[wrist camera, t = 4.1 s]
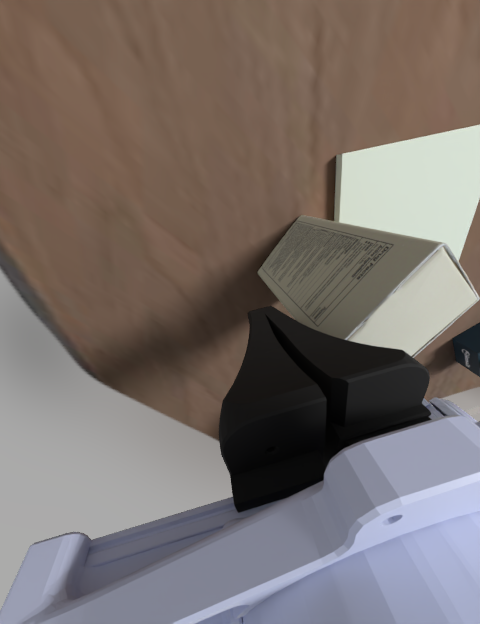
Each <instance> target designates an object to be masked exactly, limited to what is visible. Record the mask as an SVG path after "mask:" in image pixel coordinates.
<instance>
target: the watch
mask: <svg viewBox="0 0 480 624" xmlns="http://www.w3.org/2000/svg"><path fill="white" fill-rule="evenodd" d="M452 339H453V345H454V351H455V356H456V361H457V362H458V363H460V364H461V365H463V366H464V367H466V368H467V369H469V370H470V371H472V372H473V373H475V374H476V375H478V376H479V377H480V323H478V324H476V325H475V326H473V327H471V328H470V329H468V330H466V331H464V332H463V333H461V334H459V335H458V336H456V337H454V338H452Z"/></svg>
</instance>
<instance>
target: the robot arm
mask: <svg viewBox="0 0 480 624" xmlns="http://www.w3.org/2000/svg"><path fill="white" fill-rule="evenodd" d="M248 318H249V323H250V332H249V340H248V346H247V350H246V354H245V357H244V360H243V363H242V366H241V368H240V371H239V373H238V375H237V377H236V379H235V381H234V383H233V385H232V387H231V388H230V390H229V392H228V393H227V395H226V397H225V398H224V400H223V403H222V409H221V415H220V423H219V440H220V449H221V454H222V457H223V459H224V462H225V464H226V466H227V469H228V470H229V473H230V476H231V485H232V493H233V497H231V498H227V499H224V500H221V501H217V502H214V503H211V504H208V505H204V506H201V507H198V508H195V509H192V510H188V511H185V512H181V513H178V514H175V515H172V516H168V517H165V518H162V519H159V520H155V521H152V522H149V523H145V524H142V525H139V526H136V527H132V528H129V529H126V530H123V531H119V532H116V533H113V534H109V535H106V536H103V537H100V538H96V539H93V540H91V539H90V538H89V537H88V536H87V535H85V534H84V533H80V532H71V533H66V534H63V535H59V536H56V537H53V538H49V539H46V540H43V541H39V542H36V543H34V544H32V545H31V546H30V547H29V549H28V551H27V554H26V556H25V558H24V560H23V562H22V565H21V567H20V569H19V571H18V574H17V576H16V578H15V580H14V582H13V584H12V586H11V589H10V591H9V593H8V595H7V597H6V600H5V602H4V604H3V606H2V609H1V611H0V624H480V421H479V422H477V421H476V420H475V419H474V418H472V417H471V416H470V415H469V414H467V413H466V412H465V411H464V410H462V409H461V408H460V407H458V406H457V405H456V404H454V403H453V402H451V401H449V400H444V399H439V398H436V397H434V398H433V399H431V400H430V401H429V402H430V403H431V404H432V405H433V406H431V404H430V403H428V402H427V401H426V400H425V399H424V396H425V393H426V390H427V388H428V384H429V378H430V377H429V372H428V370H427V369H426V368H425V367H424V366H423V365H422V364H420V363H419V362H418V361H416V360H415V359H414V358H413V357H411V356H410V355H409V354H408V353H406V352H405V351H403V350H400V349H393V348H385V347H377V346H371V345H366V344H361V343H356V342H352V341H348V340H344V339H341V338H337V337H334V336H331V335H328V334H325V333H322V332H320V331H317V330H315V329H312V328H310V327H308V326H306V325H304V324H301V323H300V322H298V321H296V320H294V319H292V318H290V317H289V316H287V315H285V314H284V313H282V312H280V311H279V310H277V309H275V308H274V307H272V306H269V307H265V308H261V309H257V310H253V311H249V313H248Z"/></svg>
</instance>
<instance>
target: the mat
mask: <svg viewBox="0 0 480 624" xmlns="http://www.w3.org/2000/svg"><path fill="white" fill-rule="evenodd" d="M479 198H480V125H476V126H471V127H467V128H462V129H457V130H453V131H448V132H443V133H439V134H434V135H429V136H424V137H420V138H415V139H410V140H406V141H401V142H396V143H391V144H387V145H382V146H377V147H373V148H368V149H363V150H358V151H354V152H349V153H344V154H340V155H336V182H335V210H334V221H335V222H340V223H345V224H350V225H355V226H360V227H365V228H371V229H376V230H381V231H386V232H391V233H396V234H401V235H407V236H412V237H417V238H422V239H427V240H432V241H437V242H443V243H446V244H448V246H449V247H450V249H451V251H452V252H453V254H454V255H455V257H456V258H457V260H458V261H459V258H460V255H461V252H462V249H463V246H464V243H465V240H466V237H467V234H468V231H469V228H470V225H471V222H472V219H473V216H474V213H475V210H476V207H477V204H478V201H479Z"/></svg>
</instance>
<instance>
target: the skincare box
mask: <svg viewBox="0 0 480 624" xmlns="http://www.w3.org/2000/svg"><path fill="white" fill-rule="evenodd" d="M258 275H259V276H260V277H261V278H262V280H263V281H264V282H265V283H266V285H267V286H268V287H269V288H270V289H271V291H272V292H273V293H274V294H275V296H276V297H277V298H278V299H279V300H280V302H281V303H282V304H283V305H284V307H285V308H286V309H287V310H288V311H289V313H290V314H291V315H292V316H293V317H294V319H295V320H296V321H298V322H300V323H301V324H304V325H306V326H308V327H310V328H312V329H315V330H317V331H320V332H322V333H325V334H328V335H331V336H334V337H337V338H341V339H344V340H348V341H352V342H356V343H361V344H366V345H371V346H377V347H385V348H393V349H400V350H403V351H405V352H406V353H408V354H409V355H410V356H411V357H413V358H414V357H415V356H416V355H417V354H418V353H419V352H421V351H422V350H423V349H424V348H425V347H426V346H427V345H428V344H430V343H431V342H432V341H433V340H434V339H435V338H436V337H437V336H439V335H440V334H441V333H442V332H443V331H444V330H446V329H447V328H448V327H449V326H450V325H451V324H453V323H454V322H455V321H456V320H457V319H458V318H459V317H460V316H461V315H462V314H463V313H464V312H466V311H467V310H468V309H469V308H470V307H472V306H473V305H474V304H475V303H476V302H477V301H478V300H479V299H480V298H479V296H478V294H477V293H476V291H475V289H474V287H473V285H472V284H471V282H470V280H469V278H468V276H467V275H466V273H465V271H464V270H463V269H462V267H461V265H460V263H459V262H458V260H457V258H456V257H455V255H454V254H453V252H452V251H451V249H450V247H449V246H448V244H446V243H443V242H437V241H432V240H427V239H422V238H417V237H412V236H407V235H401V234H396V233H391V232H386V231H381V230H376V229H371V228H365V227H360V226H355V225H350V224H345V223H340V222H335V221H330V220H324V219H320V218H314V217H310V216H304V215H301V216H300V217H299V218H298V219H297V220H296V221H295V223H294V224H293V225H292V226H291V228H290V229H289V230H288V231H287V233H286V234H285V235H284V237H283V238H282V239H281V240H280V242H279V243H278V245H277V246H276V247H275V248H274V250H273V251H272V253H271V254H270V255H269V257H268V258H267V259H266V261H265V262H264V264H263V265H262V266H261V268H260V269H259V271H258Z"/></svg>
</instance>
